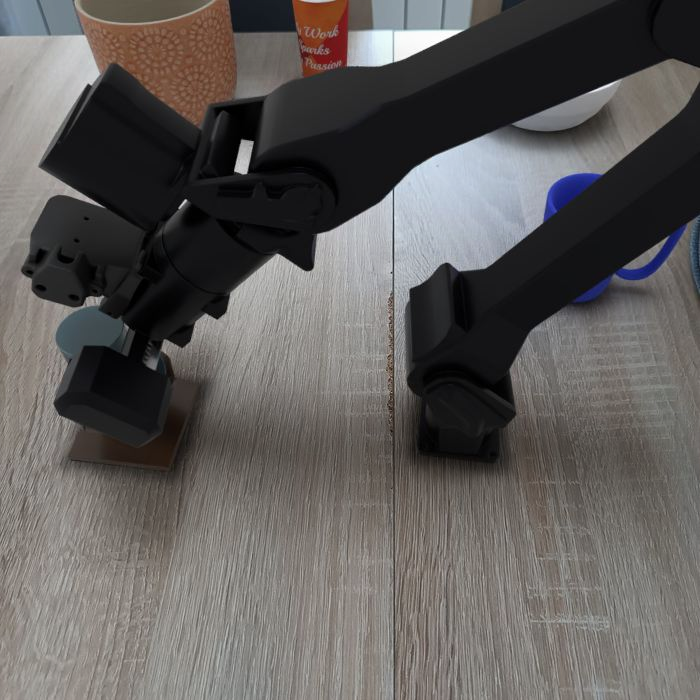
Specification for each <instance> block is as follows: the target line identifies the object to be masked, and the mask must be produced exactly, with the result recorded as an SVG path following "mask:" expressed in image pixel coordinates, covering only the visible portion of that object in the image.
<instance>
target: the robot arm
mask: <svg viewBox="0 0 700 700" xmlns="http://www.w3.org/2000/svg"><path fill="white" fill-rule="evenodd" d="M668 60H675V61H678V62H681V63H684V64H687V65H689V66H692V67H695V68H698V69H700V0H524V1H522V2H520V3H518V4H516V5H513V6H511V7H510V8H507V9H505V10H503V11H501V12H499V13H497V14H495V15H493V16H490V17H489V18H486V19H484V20H482V21H480V22H479V23H477V24H474V25H472V26H470V27H468V28H465V29H464V30H462V31H459V32H458V33H455V34H453V35H451V36H450V37H447V38H444V39H443V40H441V41H439V42H437V43H434V44H432V45H430V46H428V47H426V48H424V49H422V50H420V51H418V52H416V53H414V54H411V55H410V56H407V57H406V58H403V59H400V60H397V61H394V62H393V61H392V62H390V63H385V64H383V65H378V66H375V65H374V66H373V65H372V66H367V65H363V66H362V65H347V66H341V67H337V68H334V69H330V70H327V71H323V72H320V73H317V74H313V75H310V76H307V77H303V76H302V77H300V78H297V79H293V80H290V81H287V82H285V83H282V84H281V85H279V86H278V87H277V88H275V89H274V90H273V91H271V92H270V93H268V94H265V95H258V96H252V97H251V96H250V97H246V98H238V99H232V100H230V101H223V102H216V103H210V104H209V105H208V106H207V108H206V112H205V115H204V118H203V121H202V122H201V123H200V125H199V126H198V127H196V126H195V125H194V124H192V123H191V122H190V121H188V120H187V119H186V118H184V117H183V116H182V115H180V114H179V113H178V112H176V111H175V110H173V109H172V108H171V107H169V106H168V105H167V104H165V103H164V102H163V101H161V100H160V99H159V98H157V97H156V96H155V95H153V94H152V93H151V92H149V91H148V90H147V89H146V88H145V87H144V86H143V85H142V83H141V82H140V81H139V80H138V79H137V78H135V77H134V76H133V75H132V74H130V73H129V72H128V71H126V70H125V69H124V68H122V67H121V66H120V65H118V64H117V63H110V64H109V65H108V67H107V68H106V70H105V71H104V73H103V74H101V75H100V74H99V75H98V76H97V78H95V80H94V81H93V83H92V84H90V83H87V84H86V85H85V87H84V88H83V89H82V91H81V93H80V94H79V96H78V97H77V99H76V100H75V102H74V103H73V105H72V106H71V108H70V109H69V111H68V113H67V114H66V116H65V118H63V121H62V122H61V123H60V126H59V127H58V129H57V131H56V132H55V134H54V135H53V137H52V138H51V141H50V143H49V144H48V146H47V147H46V149H45V150H44V153H43V155H42V156H41V159H40V161H39V163H38V166H37V167H38V168H39V169H40V170H42V171H44V172H46V173H47V174H49V175H51V176H52V177H53V178H55V179H57V180H58V181H60V182H62V183H63V184H65V185H66V186H68V187H70V188H72V189H73V190H75V191H77V192H78V193H80V194H82V195H83V196H84V197H86V198H88V199H89V200H91V201H93V202H95V203H96V204H97V205H96V204H94V203H92V202H88V201H85V200H82V199H79V198H76V197H73V196H70V195H66V194H56V195H54V196H51V197H49V198H48V199H47V201H46V203H45V205H44V207H43V209H42V211H41V213H40V215H39V216H38V218H37V220H36V222H35V224H34V226H33V228H32V230H31V232H30V238H29V252H28V254H27V256H26V258H25V260H24V262H23V264H22V266H21V269H20V272H21V274H22V275H23V276H24V277H26V278H28V279H31V284H30V290H31V292H32V294H34V295H35V296H36V297H38V298H39V299H41V300H44V301H48V302H52V303H55V304H59V305H63V306H66V307H69V308H72V309H73V308H75V309H76V308H81V307H83V306H84V305H85V302H86V300H87V298H89V297H90V298H91V297H93V298H101V297H102V299H101V300H100V303H99V304H98V305H99V308H98V311H100V312H102V313H104V314H106V315H108V316H110V317H112V318H114V319H118V318H119V317H120V316H121V320H122V321H123V322H124V323H125V324H126V326H127V328H128V331H127V334H126V337H125V340H124V343H123V346H122V349H121V352H120V353H119V352H117V351H115V350H113V349H111V348H109V347H107V346H103V345H84V346H83V347H82V348H81V349H80V350H78V351H77V352H76V354H75V355H74V357H73V359H72V358H70V360H69V362H68V363H67V365H66V368H65V370H64V373H63V376H62V377H61V380H60V383H59V386H58V389H57V392H56V394H55V397H54V400H53V402H52V404H53V406H54V408H55V410H56V412H57V414H58V416H60V417H62V418H63V419H64V418H65V419H67V420H69V421H71V422H73V421H74V422H76V423H79V424H81V425H83V426H86V427H88V428H91V429H93V430H95V431H98V432H100V433H102V434H105V435H107V436H110V437H112V438H114V439H117V440H119V441H122V442H124V443H126V444H129V445H131V446H133V447H136V448H138V447H140V446H143V445H145V444H147V443H149V442H150V441H151V440H153V439H154V438H156V437H157V436H159V435H160V434H162V432H163V428H164V424H165V420H166V416H167V412H168V408H169V404H170V400H171V396H172V392H173V387H172V384H171V382H170V379H169V377H167V376H165V375H163V374H161V373H159V372H157V371H156V367H157V364H158V360H159V356H160V353H161V351H162V349H163V346H164V343H165V342H164V341H165V340H166V341H167V342H170V343H171V344H173V345H175V346H177V347H179V348H181V349H184V348H185V347H186V346H187V345H189V344H190V343H191V341H192V337H193V333H194V329H195V325H196V322H197V321H199V320H200V319H201V318H202V317H204V316H205V315H208V317H209V316H210V317H212V319H214V320H217V321H218V320H219V319H221V318H222V317H223V316H224V315H225V314H227V313H228V312H227V311H228V307H229V304H230V303H229V302H230V297H231V293H233V291H235V290H236V289H237V288H238V287H239V286H241V284H243V283H244V282H245V281H247V279H249V278H250V277H251V276H253V274H255V273H256V272H257V271H258V270H260V269H261V268H262V267H263V266H264V265H266V264H267V263H268V262H269V261H270V260H271V259H272V258H274V257H275V256H276V255H278V256H281V257H283V258H284V259H286V260H287V261H289V262H290V263H291V264H293V265H294V266H296V267H298V268H299V269H301V270H302V271H304V272H308V273H309V272H311V271H313V270H314V269H315V263H316V254H317V253H316V252H317V250H316V249H317V241H318V235H319V234H326V233H328V232H331V231H333V230H335V229H338V228H339V227H341V226H343V225H344V224H346V223H348V222H349V221H351V220H353V219H354V218H357V217H358V216H359V215H361V214H363V213H364V212H366V211H368V210H370V209H371V208H373V207H375V206H376V205H378V204H380V203H381V202H383V200H384V199H385V198H386V197H388V195H389V194H390V193H391V192H392V191H393V190H394V189H395V188H396V187H397V186H399V184H400V183H401V182H402V181H403V180H404V179H405V178H406V176H408V174H410V173H411V172H412V171H413V170H414V169H415V168H417V167H419V166H420V165H422V164H424V163H425V162H427V161H428V160H430V159H432V158H433V157H435V156H438V155H440V154H443V153H445V152H447V151H450V150H452V149H455V148H457V147H459V146H462V145H465V144H467V143H470V142H472V141H474V140H477V139H480V138H482V137H484V136H486V135H489V134H492V133H493V132H496V131H498V130H501V129H504V128H507V127H508V126H511V124H513V123H516V122H518V121H520V120H523V119H525V118H528V117H530V116H533V115H535V114H538V113H540V112H542V111H545V110H547V109H550V108H552V107H555V106H557V105H559V104H562V103H564V102H567V101H569V100H572V99H574V98H576V97H579V96H581V95H584V94H586V93H589V92H591V91H593V90H596V89H598V88H601V87H603V86H606V85H608V84H610V83H613V82H615V81H618V80H620V79H623V80H624V79H625V78H627V77H630V76H632V75H635V74H636V73H640V72H642V71H644V70H647V69H649V68H652V67H654V66H657V65H659V64H661V63H664V62H667V61H668ZM242 141H247V142H253V143H252V146H251V147H252V148H251V152H250V157H249V162H248V167H247V172H246V173H241V172H238V171H235V169H236V165H237V161H238V157H239V152H240V148H241V144H242ZM699 216H700V81H699V82H698V83H697V86H696V88H694V90H693V92H692V94H691V95H690V98H689V100H688V101H687V103H686V104H685V105H684V107H683V108H682V109H681V110H680V111H679V112H678V113H677V114H675V116H674V117H672V118H671V119H670V120H669V121H668V122H666V123H665V124H663V125H662V126H661V127H660V128H658V129H657V130H656V131H655V132H653V134H651V135H650V136H649V137H647V138H646V139H645V140H644V141H642V143H640V144H639V145H637V146H636V147H635V148H634V149H633V150H631V151H630V152H629V153H627V155H625V156H624V157H623V158H621V160H619V161H618V162H616V163H615V164H614V165H612V167H610V168H609V169H608V170H607V171H606V172H604V173H603V174H602V176H601V177H599V178H598V179H597V180H596V181H594V182H593V183H592V184H591V185H589V186H588V187H587V188H586V189H584V190H583V191H582V192H581V193H579V194H578V195H577V196H576V197H575V198H573V199H572V200H571V201H570V202H568V203H567V204H566V205H565V206H563V207H562V208H561V209H560V210H558V211H557V212H556V213H555V214H553V215H552V216H551V217H550V218H549V219H547V220H546V221H545V222H544V223H543V222H542V223H541V224H539V225H538V226H537V227H536V228H535V229H534V230H533V231H531V232H530V233H529V234H527V235H526V236H525V237H523V239H521V240H520V241H519V242H517V243H516V244H515V245H514V246H513V247H511V248H510V249H509V250H507V251H506V252H505V253H504V254H503V255H501V256H500V257H499V258H498V259H496V260H495V261H494V262H493V263H491V264H489V265H488V266H487V267H484V268H478V269H477V268H476V269H468V270H458V269H457V268H456V267H454V266H453V265H452V264H451V263H450V262H447V261H446V262H443V263H442V264H439V266H438V267H437V268H436V269H435V270H434V272H433V273H432V274H431V275H430V276H429V277H428V278H427V279H426V280H424V281H423V282H421V283H420V284H418V285H416V286H413V287H411V288H409V289H408V295H409V296H408V297H409V299H408V301H407V302H406V304H405V307H404V313H403V315H404V317H403V318H404V345H405V347H404V348H405V377H406V378H405V379H406V383H407V387H408V389H409V390H410V391H411V393H412V394H414V395H415V396H417V397H419V398H420V399H421V404H420V414H419V424H418V425H419V426H418V434H417V445H416V446H417V448H416V452H417V453H418V454H419V455H422V456H427V457H428V456H429V457H439V458H448V459H455V460H464V461H472V462H473V461H474V462H482V463H491V464H494V463H497V462H498V461H499V457H500V429H502V430H503V429H505V428H506V427H507V425H509V424H510V423H511V422H512V420H514V418H516V417H517V415H518V414H517V406H516V401H515V395H514V389H513V387H514V386H513V382H512V381H513V380H512V375H511V368H512V366H513V365H514V363H515V361H516V360H517V359H516V358H517V357H518V355H519V353H520V351H521V349H522V348H523V346H524V344H525V342H526V340H527V338H528V337H529V334H530V333H531V332H532V331H533V330H534V329H535V328H536V327H538V326H539V325H540V324H543V322H545V321H546V320H548V319H549V318H551V317H552V316H554V315H555V314H557V313H558V312H560V311H561V310H562V309H564V308H565V307H567V306H569V304H571V303H574V302H573V301H574V300H576V299H577V298H579V297H580V296H582V295H583V294H584V293H586V292H587V291H589V290H590V289H592V288H593V287H595V286H596V285H598V284H599V283H601V282H602V281H604V280H605V279H607V278H608V277H609V276H611V275H612V274H614V275H615V272H617V271H618V270H620V269H621V268H624V267H626V266H627V265H628V264H630V263H632V262H633V261H635V260H636V259H637V258H639V257H640V256H642V255H643V254H645V253H646V252H648V251H649V250H651V249H653V248H654V247H655V246H656V245H658V244H659V243H661V242H662V241H664V240H665V239H668V237H669V236H670V235H671V234H673V233H674V232H676V231H677V230H679V229H680V228H681V227H683V226H684V225H686V224H687V225H688V224H689V223H691V222H692V221H694V220H695V219H696V218H698V217H699ZM74 422H73V423H74ZM76 423H75V424H76ZM422 448H425V449H422ZM491 455H493V456H494V457H493V456H491Z"/></svg>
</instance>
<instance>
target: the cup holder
mask: <svg viewBox="0 0 700 700" xmlns="http://www.w3.org/2000/svg"><path fill="white" fill-rule="evenodd" d="M160 356H161V357H162V359H163V361H164V363H165V366H166V369H167V377H169V379H170V382H171V384H172V387H173V392H172V396H171V400H170V404H169V408H168V412H167V416H166V420H165V424H164V428H163V432H162V434H160V435H159V436H157V437H156V438H154V439H153V440H151V441H150V442H149V443H147V444H145V445H143V446H140V447H138V448H136V447H133V446H131V445H129V444H126V443H124V442H122V441H119V440H117V439H114V438H112V437H110V436H107V435H105V434H102V433H100V432H98V431H95V430H93V429H91V428H88V427H86V426H83V425H81V424H79V423H76V422H74V421H72V422H73V423H74V424H75V425H77V426H78V427H79V428H80V429H79V430H78V432H77V435H76V437H75V439H74V441H73V444H72V445H71V448H70V450H69V452H68V454H67V457H68V459H70V460H72V461H79V462H80V461H81V462H88V463H89V462H90V463H97V464H104V465H112V466H113V465H114V466H121V467H128V468H129V467H130V468H139V469H145V470H154V471H163V472H171V470H172V469H173V468H172V467H173V465H174V462H175V459H176V457H177V454H178V451H179V448H180V445H181V442H182V440H183V436H184V433H185V431H186V428H187V427H188V426H187V425H188V422H189V420H190V417H191V414H192V412H193V408H194V407H195V403H196V400H197V398H198V394H199V392H200V389H201V383H200V382H199V381H193V380H183V379H177V376H176V373H175V370H174V366H173V362H172V359H171V358H170V356H169V355H168V354H167V353H165V352H164V351H163V350H161V353H160Z"/></svg>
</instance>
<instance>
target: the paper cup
mask: <svg viewBox="0 0 700 700" xmlns="http://www.w3.org/2000/svg"><path fill="white" fill-rule="evenodd" d="M291 1H292V2H291V3H292V8H293V16H294V21H295V29H296V35H297V41H298V43H297V44H298V49H299V56H300V63H301V70H302V75H303V76H302V78H303V77H307V76H310V75H313V74H317V73H320V72H323V71H327V70H330V69H334V68H337V67H341V66H348V51H349V49H348V48H349V14H350V13H349V12H350V0H291Z"/></svg>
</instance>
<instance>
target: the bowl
mask: <svg viewBox="0 0 700 700" xmlns="http://www.w3.org/2000/svg"><path fill="white" fill-rule="evenodd" d="M623 80H624V78H623V79H620V80H618V81H615V82H613V83H610V84H608V85H606V86H603V87H601V88H598V89H596V90H593V91H591V92H589V93H586V94H584V95H581V96H579V97H576V98H574V99H572V100H569V101H567V102H564V103H562V104H559V105H557V106H555V107H552V108H550V109H547V110H545V111H542V112H540V113H538V114H535V115H533V116H530V117H528V118H525V119H523V120H520V121H518V122H516V123H513V124H511V125H512V126H514V127H517V128H520V129H525V130H529V131H539V132H556V131H563V130H567V129H568V130H569V129H572V128H574V127H577V126H579V125H581V124H582V123H584V122H586V121H587V120H588V119H590V118H592V117H594V116H595V115H597V114H598V112H599V111H600V110H602V108H603V107H604V105H606V104H607V103H609V102H610V100H612V98H613V97H614V96H615V95H616V93H617V91H618V89H619V88H620V85H621V83H622V82H623ZM511 125H510V126H511Z"/></svg>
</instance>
